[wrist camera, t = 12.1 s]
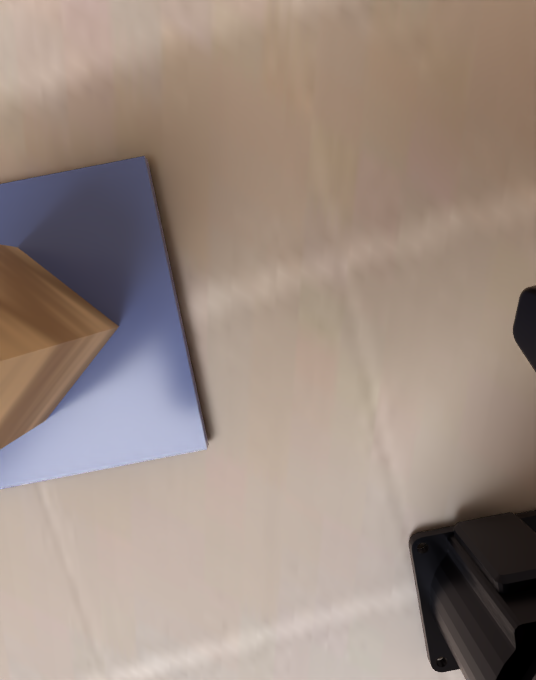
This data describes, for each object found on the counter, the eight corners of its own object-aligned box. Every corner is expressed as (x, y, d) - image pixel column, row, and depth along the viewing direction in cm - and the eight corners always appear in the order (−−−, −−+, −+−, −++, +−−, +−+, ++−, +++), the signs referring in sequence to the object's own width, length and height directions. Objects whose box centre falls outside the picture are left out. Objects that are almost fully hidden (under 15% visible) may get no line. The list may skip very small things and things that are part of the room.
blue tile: (208, 444, 21) (207, 449, 20) (-66, 497, 21) (-76, 503, 20) (147, 159, 19) (144, 155, 19) (-146, 216, 19) (-159, 214, 19)
